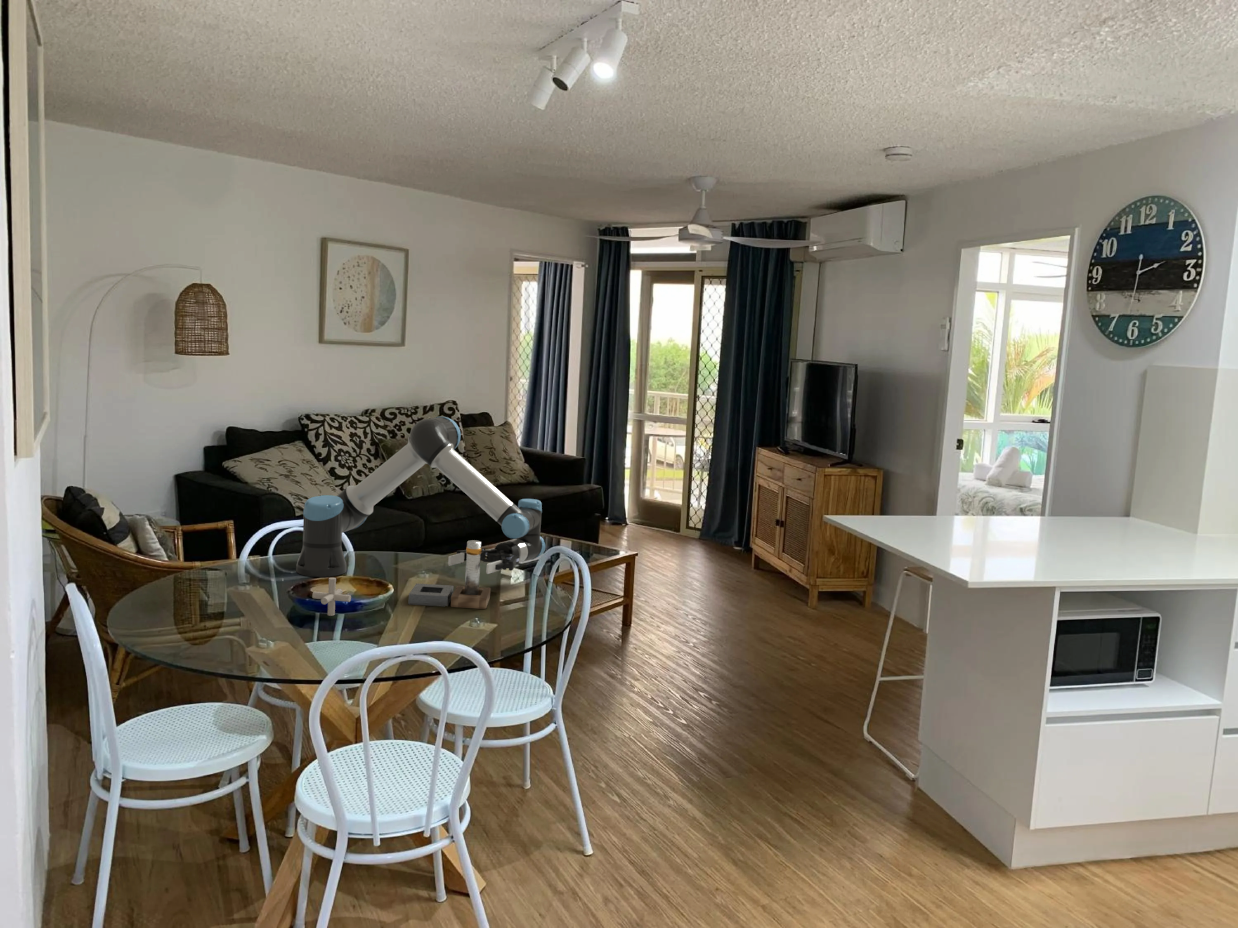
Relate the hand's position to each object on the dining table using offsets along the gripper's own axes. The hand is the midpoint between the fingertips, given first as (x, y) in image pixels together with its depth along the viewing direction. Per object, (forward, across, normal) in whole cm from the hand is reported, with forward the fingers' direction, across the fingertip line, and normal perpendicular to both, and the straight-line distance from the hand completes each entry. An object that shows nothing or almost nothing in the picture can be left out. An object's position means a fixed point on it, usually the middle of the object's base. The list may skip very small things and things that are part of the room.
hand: (468, 564), depth 264 cm
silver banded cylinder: (-2, 0, -12) cm, 12 cm away
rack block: (-2, 0, -12) cm, 12 cm away
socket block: (+3, +10, -12) cm, 16 cm away
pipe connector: (+32, +20, -12) cm, 40 cm away
